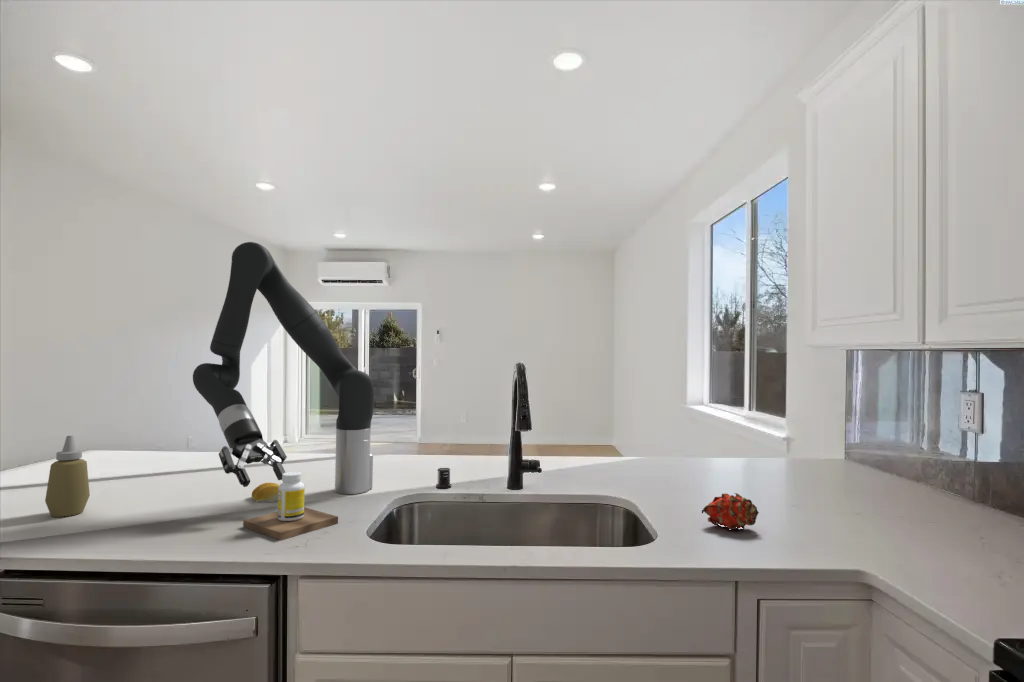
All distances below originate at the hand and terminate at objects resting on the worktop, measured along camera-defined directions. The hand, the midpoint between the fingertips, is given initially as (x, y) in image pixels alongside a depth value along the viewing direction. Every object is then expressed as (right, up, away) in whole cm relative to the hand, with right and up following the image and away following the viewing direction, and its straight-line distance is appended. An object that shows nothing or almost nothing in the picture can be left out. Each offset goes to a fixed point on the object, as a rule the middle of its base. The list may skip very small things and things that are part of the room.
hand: (265, 481), depth 127 cm
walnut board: (+9, -8, -6) cm, 13 cm away
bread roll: (-6, -9, +16) cm, 19 cm away
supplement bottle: (+8, -7, -6) cm, 12 cm away
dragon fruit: (+106, -10, -4) cm, 106 cm away
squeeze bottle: (-46, -8, 0) cm, 46 cm away
